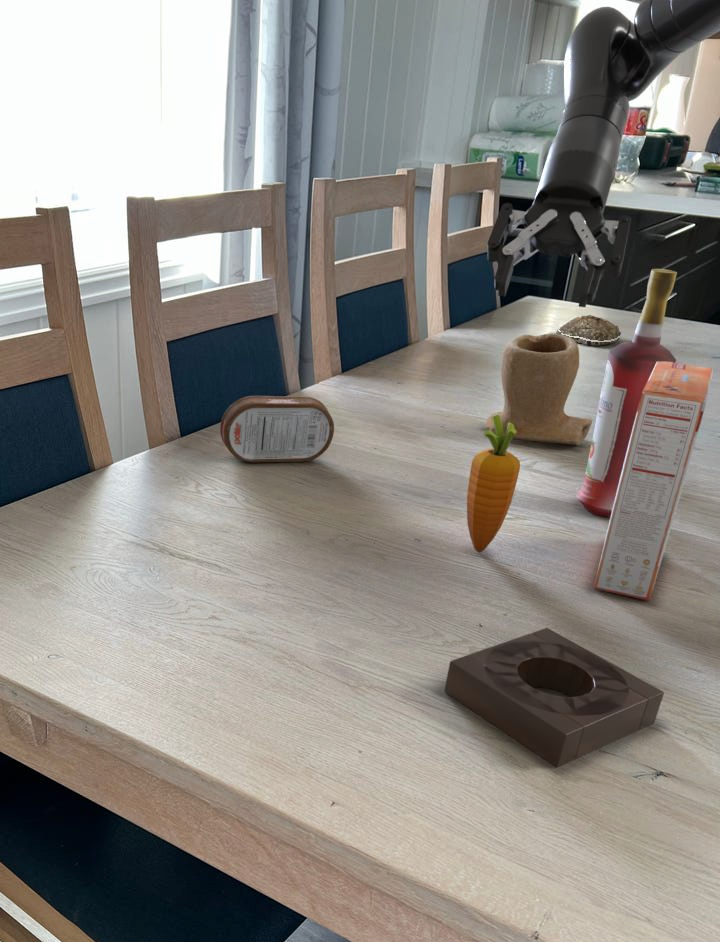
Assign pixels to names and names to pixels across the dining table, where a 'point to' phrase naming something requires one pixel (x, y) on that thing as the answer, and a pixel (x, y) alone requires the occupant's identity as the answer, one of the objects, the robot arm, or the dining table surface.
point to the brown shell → (590, 330)
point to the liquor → (625, 396)
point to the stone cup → (540, 389)
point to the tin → (277, 429)
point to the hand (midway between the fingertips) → (541, 297)
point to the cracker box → (652, 478)
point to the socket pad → (548, 716)
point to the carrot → (491, 486)
